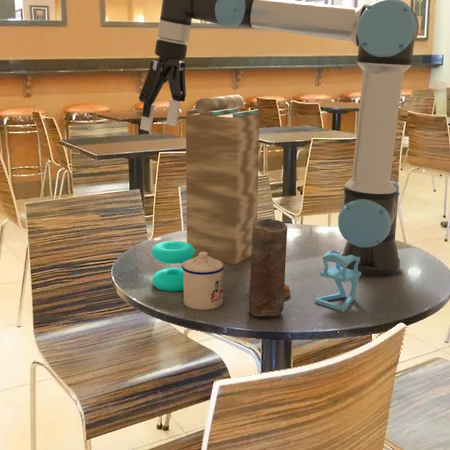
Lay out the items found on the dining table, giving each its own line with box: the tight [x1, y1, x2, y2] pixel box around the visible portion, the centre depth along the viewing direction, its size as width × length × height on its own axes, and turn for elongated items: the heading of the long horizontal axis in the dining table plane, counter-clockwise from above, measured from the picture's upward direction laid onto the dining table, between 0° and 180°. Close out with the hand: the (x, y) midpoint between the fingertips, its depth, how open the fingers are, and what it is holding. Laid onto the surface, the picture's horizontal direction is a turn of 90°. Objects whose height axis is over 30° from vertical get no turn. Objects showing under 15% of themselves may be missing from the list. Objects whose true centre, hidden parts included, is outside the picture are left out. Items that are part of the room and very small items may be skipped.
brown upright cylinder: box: [248, 218, 288, 318], centre depth 136 cm, size 8×7×20 cm
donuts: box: [151, 240, 195, 292], centre depth 154 cm, size 10×10×10 cm
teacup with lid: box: [181, 252, 225, 311], centre depth 145 cm, size 12×9×12 cm
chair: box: [314, 249, 362, 312], centre depth 144 cm, size 8×8×12 cm
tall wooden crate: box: [185, 108, 260, 265], centre depth 174 cm, size 12×15×39 cm
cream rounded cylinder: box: [195, 94, 245, 114], centre depth 175 cm, size 18×4×4 cm, turn 149°
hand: (158, 127), depth 164 cm, fingers open, 13 cm apart
